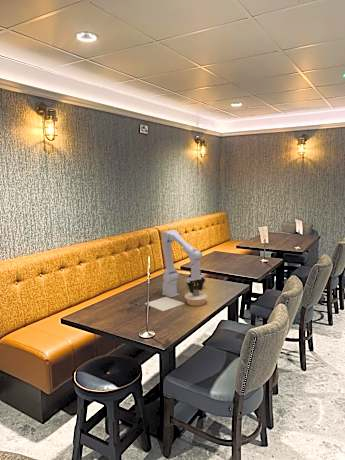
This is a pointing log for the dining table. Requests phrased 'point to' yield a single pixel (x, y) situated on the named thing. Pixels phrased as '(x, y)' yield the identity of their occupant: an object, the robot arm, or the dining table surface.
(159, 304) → the mat
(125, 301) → the dining table surface
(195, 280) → the brown miniature tree
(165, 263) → the robot arm
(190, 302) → the bowl
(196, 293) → the lid
